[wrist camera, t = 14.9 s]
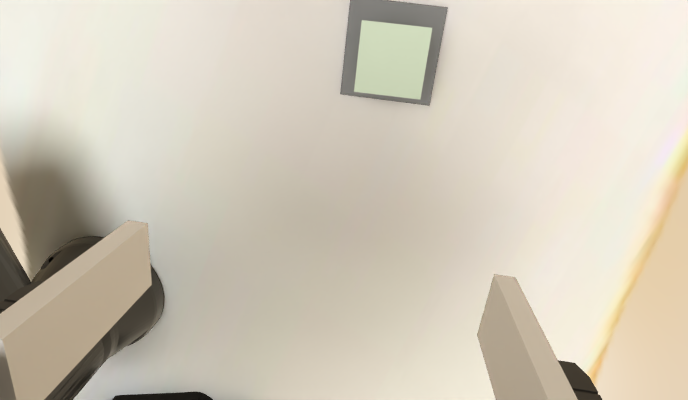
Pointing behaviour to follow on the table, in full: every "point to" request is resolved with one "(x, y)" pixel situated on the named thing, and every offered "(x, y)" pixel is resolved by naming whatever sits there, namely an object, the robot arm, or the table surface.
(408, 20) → the mat
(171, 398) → the sign
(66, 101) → the table surface
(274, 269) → the table surface
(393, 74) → the block
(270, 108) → the table surface
